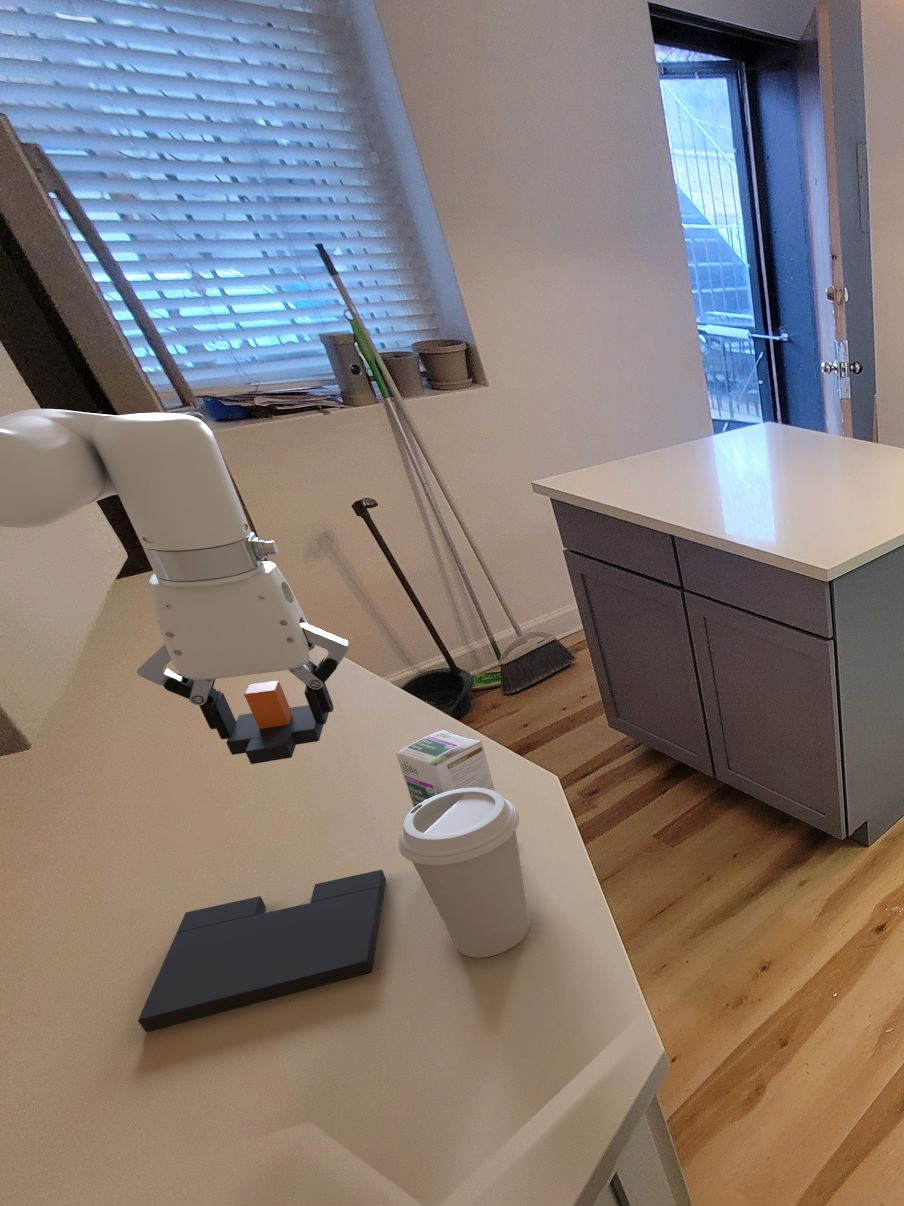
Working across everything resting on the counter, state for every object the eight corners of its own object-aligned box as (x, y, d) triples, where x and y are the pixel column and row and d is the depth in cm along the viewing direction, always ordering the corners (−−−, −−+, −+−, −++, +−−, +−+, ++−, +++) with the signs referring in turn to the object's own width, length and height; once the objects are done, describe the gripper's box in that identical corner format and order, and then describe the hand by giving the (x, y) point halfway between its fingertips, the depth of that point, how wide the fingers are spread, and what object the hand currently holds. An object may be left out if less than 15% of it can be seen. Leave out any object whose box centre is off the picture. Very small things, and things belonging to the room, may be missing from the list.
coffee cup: (503, 888, 84) (468, 772, 76) (568, 920, 80) (537, 801, 73) (415, 947, 76) (366, 823, 69) (482, 984, 73) (439, 859, 65)
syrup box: (429, 864, 86) (390, 752, 79) (475, 833, 91) (442, 726, 84) (469, 878, 85) (432, 766, 78) (513, 846, 90) (483, 738, 83)
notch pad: (145, 1032, 66) (137, 1020, 66) (191, 923, 77) (185, 912, 76) (372, 972, 73) (367, 960, 73) (386, 879, 84) (382, 869, 83)
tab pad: (225, 768, 76) (202, 719, 73) (244, 727, 82) (223, 680, 79) (315, 753, 79) (296, 705, 76) (326, 714, 85) (309, 669, 82)
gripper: (328, 538, 79) (381, 695, 87) (92, 554, 71) (176, 724, 80) (318, 562, 73) (376, 726, 82) (60, 582, 65) (154, 761, 74)
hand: (277, 724), depth 81 cm, fingers closed on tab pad, 7 cm apart
